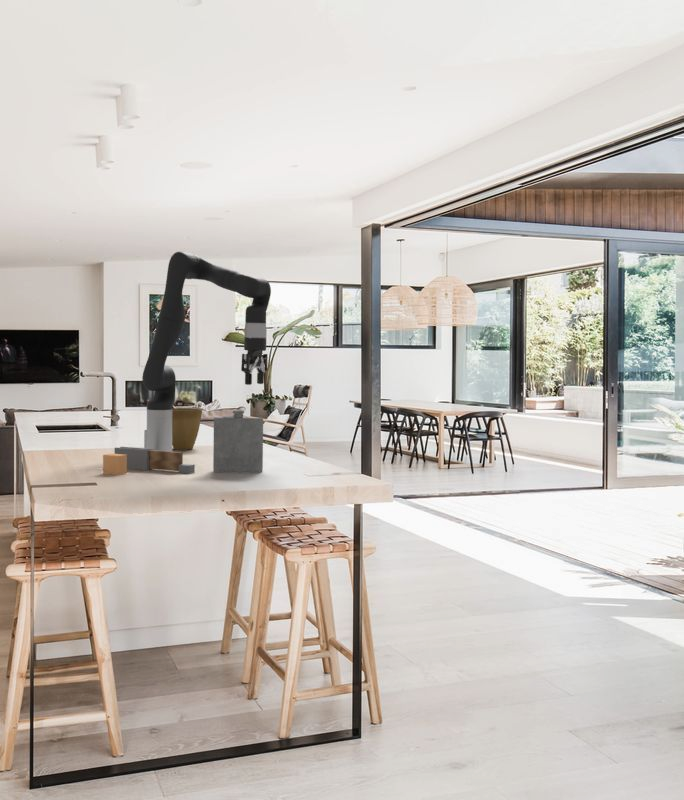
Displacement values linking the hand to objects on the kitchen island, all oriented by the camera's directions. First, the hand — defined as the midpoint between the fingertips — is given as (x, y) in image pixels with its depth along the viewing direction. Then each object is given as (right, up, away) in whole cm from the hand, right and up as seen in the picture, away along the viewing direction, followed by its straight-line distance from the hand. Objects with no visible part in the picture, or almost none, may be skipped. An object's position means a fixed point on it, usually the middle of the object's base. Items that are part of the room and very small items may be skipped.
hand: (254, 384), depth 293 cm
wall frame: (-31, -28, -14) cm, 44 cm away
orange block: (-41, -29, -23) cm, 55 cm away
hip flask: (-4, -29, -15) cm, 33 cm away
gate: (-28, -28, -15) cm, 42 cm away
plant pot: (-33, -25, +46) cm, 62 cm away
